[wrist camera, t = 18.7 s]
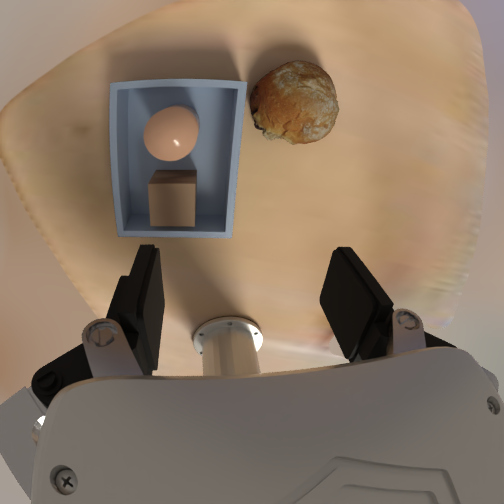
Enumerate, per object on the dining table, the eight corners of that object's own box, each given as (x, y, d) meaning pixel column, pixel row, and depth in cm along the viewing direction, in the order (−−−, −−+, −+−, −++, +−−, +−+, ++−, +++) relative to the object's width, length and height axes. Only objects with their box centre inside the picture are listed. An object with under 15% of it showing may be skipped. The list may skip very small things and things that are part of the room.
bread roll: (317, 126, 35) (364, 128, 29) (260, 158, 33) (305, 164, 26) (292, 60, 30) (339, 49, 23) (227, 84, 27) (269, 69, 21)
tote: (228, 218, 37) (231, 238, 33) (127, 217, 35) (118, 236, 31) (241, 82, 28) (247, 81, 24) (124, 82, 25) (110, 83, 21)
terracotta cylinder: (201, 104, 28) (199, 108, 22) (198, 145, 31) (195, 161, 25) (157, 104, 27) (144, 109, 21) (156, 145, 30) (143, 161, 24)
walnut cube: (197, 169, 32) (195, 183, 28) (196, 207, 35) (194, 226, 31) (156, 169, 32) (147, 183, 27) (157, 207, 34) (150, 226, 30)
